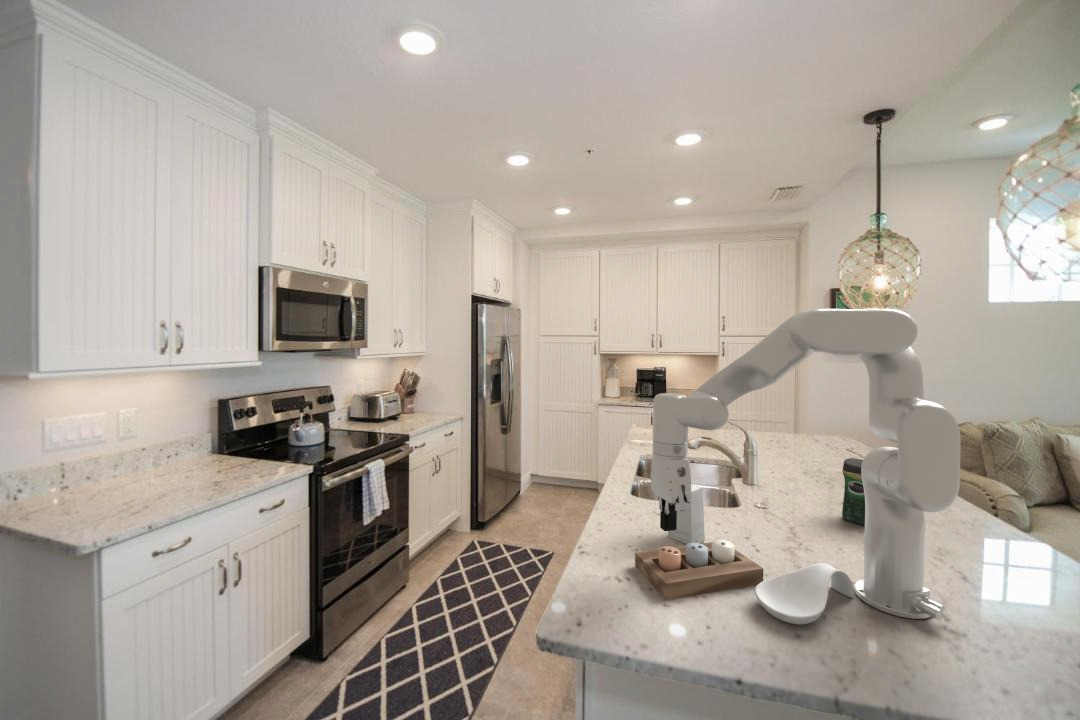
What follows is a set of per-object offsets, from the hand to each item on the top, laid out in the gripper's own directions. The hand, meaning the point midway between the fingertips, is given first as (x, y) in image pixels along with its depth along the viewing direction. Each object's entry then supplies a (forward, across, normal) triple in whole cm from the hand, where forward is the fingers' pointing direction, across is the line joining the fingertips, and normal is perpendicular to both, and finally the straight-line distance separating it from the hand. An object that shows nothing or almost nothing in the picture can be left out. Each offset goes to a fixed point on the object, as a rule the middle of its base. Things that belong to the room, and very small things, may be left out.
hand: (668, 529), depth 97 cm
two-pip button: (+9, 0, -7) cm, 12 cm away
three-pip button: (+9, 0, 0) cm, 9 cm away
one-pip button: (+9, 0, -14) cm, 17 cm away
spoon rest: (+12, -16, -22) cm, 30 cm away
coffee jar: (+11, +14, -73) cm, 75 cm away
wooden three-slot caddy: (+11, 0, -7) cm, 14 cm away
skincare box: (+12, +17, -15) cm, 26 cm away
